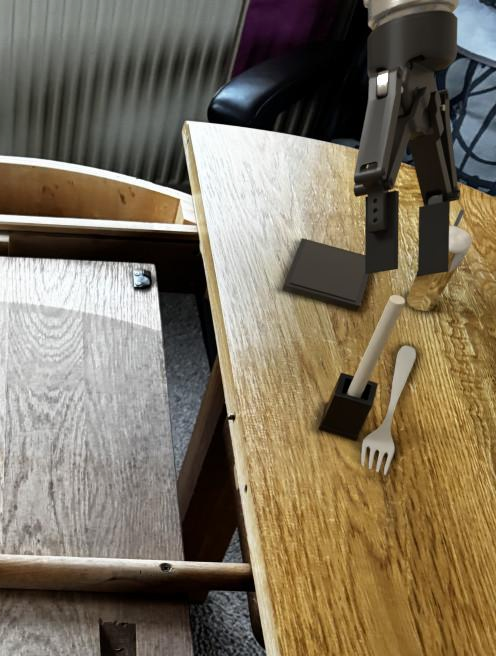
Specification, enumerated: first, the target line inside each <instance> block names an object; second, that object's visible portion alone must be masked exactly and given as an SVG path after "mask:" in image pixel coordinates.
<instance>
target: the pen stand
mask: <svg viewBox="0 0 496 656" xmlns="http://www.w3.org/2000/svg"><path fill="white" fill-rule="evenodd" d="M354 376H355V375H352V374H348V373H345V372H340V374H339V376H338V378H337V381H336V383H335V385H334V387H333V389H332V392H331V394H330V397H329V399H328V401H326V403H325V405H324V408H323V412H322V415H321V419H320V421H319V425H318V430H320V431H323V432H325V433H328V434H332V435H335V436H338V437H342V438H345V439H348V440H352V441H355V442H357V441H358V440H359V437H360V433H361V431H362V429H363V426H364V425H365V422H366V421H367V418H368V417H369V414H370V413H371V411H372V408H373V406H374V402H375V398H376V397H375V396H376V394H377V390H378V385H379V383H378V382H376V381H372V380H370V379H369V380H368V382H367V385H366V387H365V389H364V391H363V393H362V395H361V397H360V398H357V397H354V396H351V395H347V391H348V389H349V387H350V385H351V382H352V380H353V378H354Z"/></svg>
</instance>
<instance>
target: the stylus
mask: <svg viewBox="0 0 496 656" xmlns="http://www.w3.org/2000/svg"><path fill="white" fill-rule="evenodd" d="M405 303H406V299H405V298H404V297H403V296H401V295H398V294H393V295H390V296H389V298H388V300H387V303H386V305H385V307H384V309H383V312H382V313H381V316H380V318H379V321H378V323H377V325H376V327H375V329H374V332H373V334H372V336H371V338H370V340H369V343H368V344H367V347H366V349H365V352H364V354H363V356H362V359H361V360H360V363H359V365H358V367H357V369H356V372H355V374H354V375H353V376H354V378H353V380H352V382H351V385H350V387H349V389H348V391H347V395H351V396H354V397H357V398H360V397H361V395H362V393H363V391H364V389H365V387H366V385H367V382H368V380H369V381H370V378H371V376H372V374H373V372H374V370H375V367H376V365H377V363H378V361H379V359H380V357H381V355H382V353H383V350H384V348H385V346H386V344H387V342H388V339H389V338H390V335H391V334H392V331H393V329H394V327H395V325H396V323H397V320H398V318H399V316H400V314H401V312H402V310H403V307H404V305H405Z"/></svg>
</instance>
